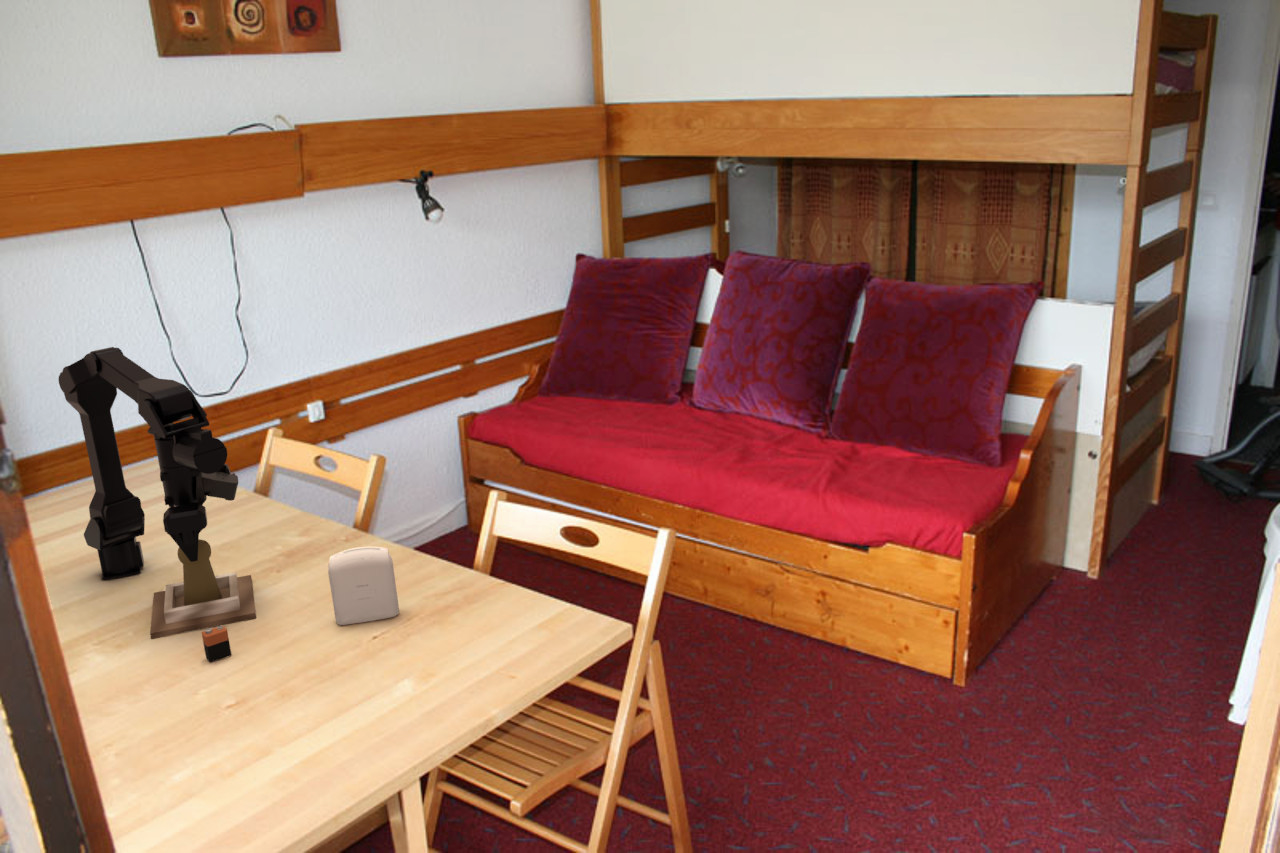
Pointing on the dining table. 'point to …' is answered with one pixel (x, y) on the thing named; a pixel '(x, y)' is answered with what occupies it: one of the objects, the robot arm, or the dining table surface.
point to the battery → (216, 643)
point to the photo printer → (363, 585)
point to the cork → (199, 576)
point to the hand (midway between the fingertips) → (194, 550)
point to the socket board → (202, 607)
